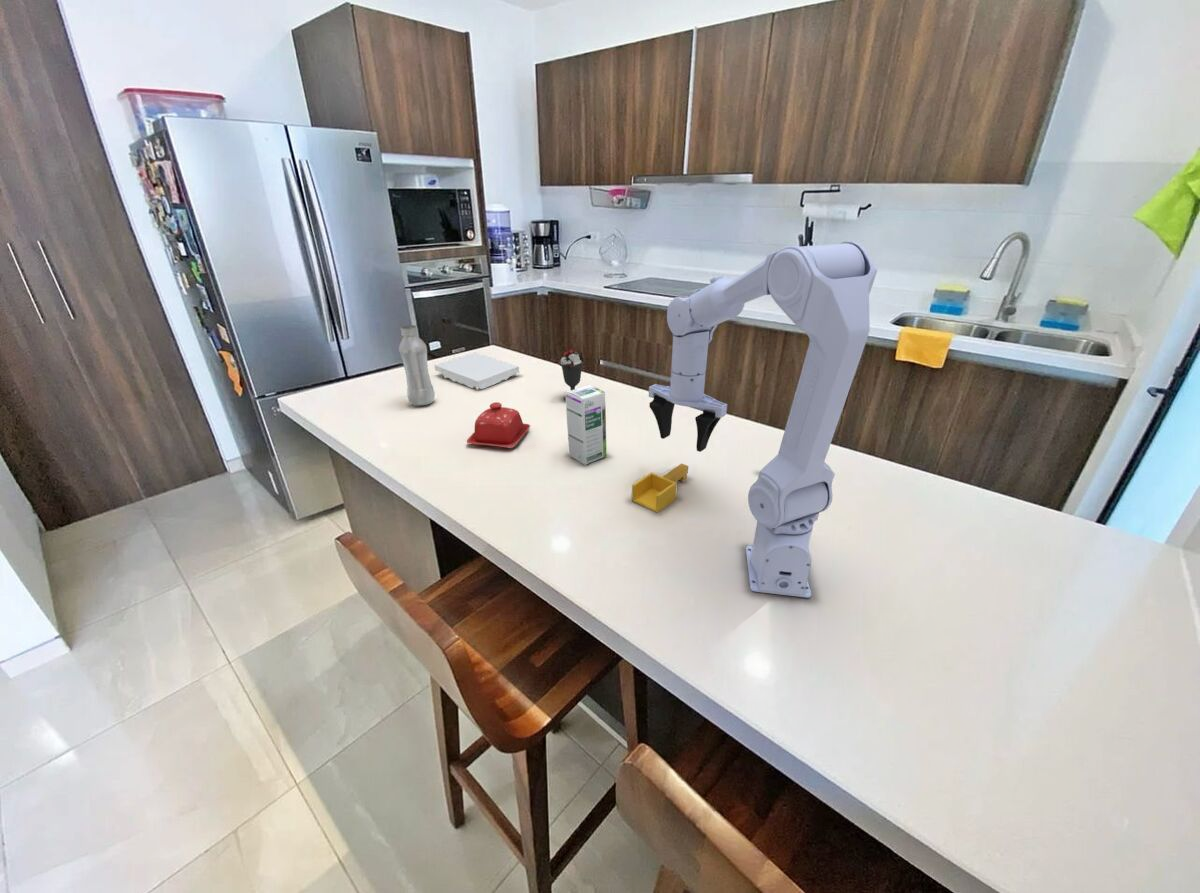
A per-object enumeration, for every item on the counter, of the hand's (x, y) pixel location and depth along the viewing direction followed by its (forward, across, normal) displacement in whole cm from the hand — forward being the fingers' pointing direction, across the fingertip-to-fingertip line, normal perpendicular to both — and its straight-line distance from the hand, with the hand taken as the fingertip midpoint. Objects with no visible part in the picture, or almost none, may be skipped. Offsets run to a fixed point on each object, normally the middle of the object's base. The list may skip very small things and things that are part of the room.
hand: (682, 442), depth 89 cm
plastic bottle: (+9, +73, +10) cm, 74 cm away
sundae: (+9, +45, -17) cm, 49 cm away
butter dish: (+9, +41, +10) cm, 43 cm away
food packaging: (+9, +79, -12) cm, 80 cm away
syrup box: (+9, +21, +3) cm, 23 cm away
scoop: (+9, +1, +4) cm, 10 cm away
